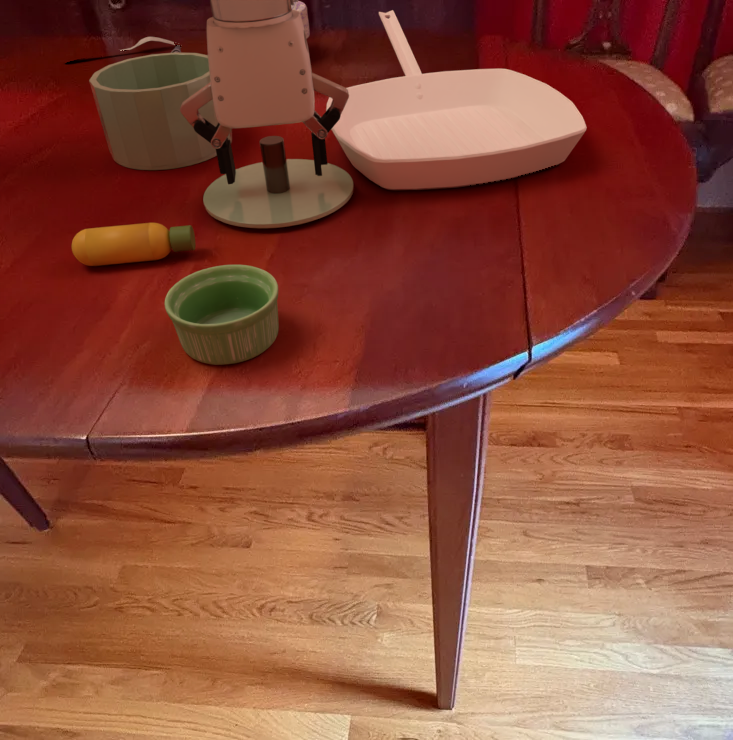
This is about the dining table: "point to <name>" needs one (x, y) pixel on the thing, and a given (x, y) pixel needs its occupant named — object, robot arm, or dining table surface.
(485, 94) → the pan
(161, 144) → the pot
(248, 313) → the ramekin
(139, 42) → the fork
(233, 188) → the lid
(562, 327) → the dining table surface
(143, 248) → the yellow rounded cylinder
